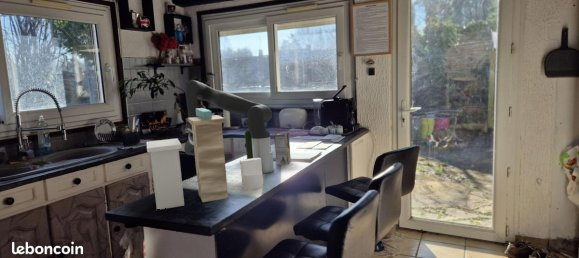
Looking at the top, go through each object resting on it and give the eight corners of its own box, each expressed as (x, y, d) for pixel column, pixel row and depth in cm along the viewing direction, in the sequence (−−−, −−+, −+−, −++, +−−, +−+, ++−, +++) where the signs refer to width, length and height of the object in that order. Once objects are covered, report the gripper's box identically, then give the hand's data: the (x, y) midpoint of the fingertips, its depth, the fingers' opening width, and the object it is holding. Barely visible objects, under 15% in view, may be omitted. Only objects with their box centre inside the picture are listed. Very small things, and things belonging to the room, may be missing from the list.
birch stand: (195, 192, 166) (187, 117, 162) (223, 188, 170) (216, 115, 166) (201, 204, 150) (193, 121, 146) (232, 199, 154) (225, 118, 150)
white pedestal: (153, 199, 161) (146, 141, 158) (183, 194, 165) (177, 138, 162) (154, 212, 144) (146, 148, 141) (187, 207, 148) (181, 144, 145)
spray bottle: (268, 158, 228) (265, 115, 224) (253, 161, 222) (249, 117, 218) (258, 156, 236) (255, 115, 233) (243, 159, 230) (240, 117, 227)
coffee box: (279, 161, 219) (277, 132, 216) (291, 161, 217) (289, 132, 215) (275, 165, 210) (273, 135, 208) (287, 164, 208) (285, 134, 206)
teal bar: (196, 115, 172) (195, 108, 172) (203, 114, 173) (202, 107, 173) (204, 119, 150) (203, 111, 149) (212, 118, 151) (211, 111, 150)
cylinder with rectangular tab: (245, 190, 165) (243, 162, 163) (239, 185, 173) (237, 159, 172) (266, 187, 168) (263, 159, 167) (259, 182, 177) (257, 156, 175)
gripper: (180, 130, 192) (181, 115, 178) (210, 127, 196) (213, 112, 182) (182, 144, 189) (183, 130, 175) (212, 140, 194) (215, 127, 180)
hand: (198, 121), depth 179 cm, fingers open, 8 cm apart
